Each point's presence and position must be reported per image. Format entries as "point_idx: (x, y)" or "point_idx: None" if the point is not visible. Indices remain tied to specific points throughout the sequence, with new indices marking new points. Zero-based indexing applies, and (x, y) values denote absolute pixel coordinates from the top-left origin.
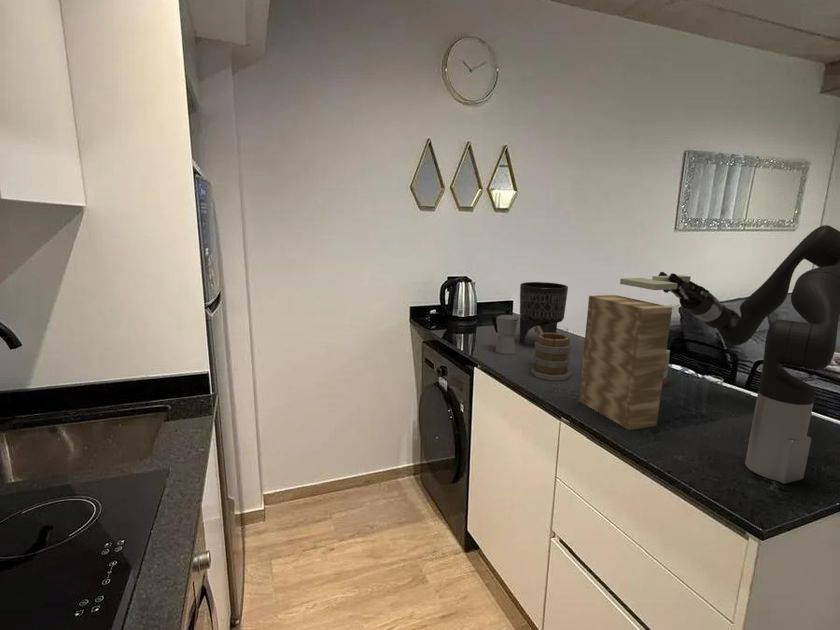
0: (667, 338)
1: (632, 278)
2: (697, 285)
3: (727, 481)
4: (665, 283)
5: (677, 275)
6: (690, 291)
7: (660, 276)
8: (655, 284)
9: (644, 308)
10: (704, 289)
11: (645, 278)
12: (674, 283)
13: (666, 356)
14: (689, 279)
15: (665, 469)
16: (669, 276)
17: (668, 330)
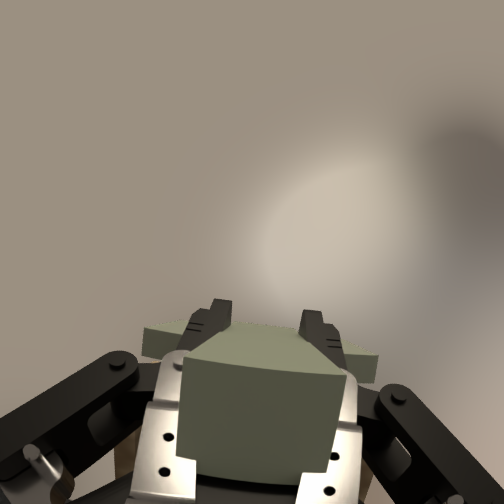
0: (116, 467)
1: (348, 345)
2: (65, 383)
3: (6, 500)
4: (174, 325)
5: (311, 356)
6: (104, 420)
7: (275, 329)
8: (180, 320)
9: (157, 362)
10: (8, 420)
11: (348, 353)
12: (151, 326)
13: None
14: (183, 395)
15: (67, 499)
16: (230, 321)
17: (115, 447)
